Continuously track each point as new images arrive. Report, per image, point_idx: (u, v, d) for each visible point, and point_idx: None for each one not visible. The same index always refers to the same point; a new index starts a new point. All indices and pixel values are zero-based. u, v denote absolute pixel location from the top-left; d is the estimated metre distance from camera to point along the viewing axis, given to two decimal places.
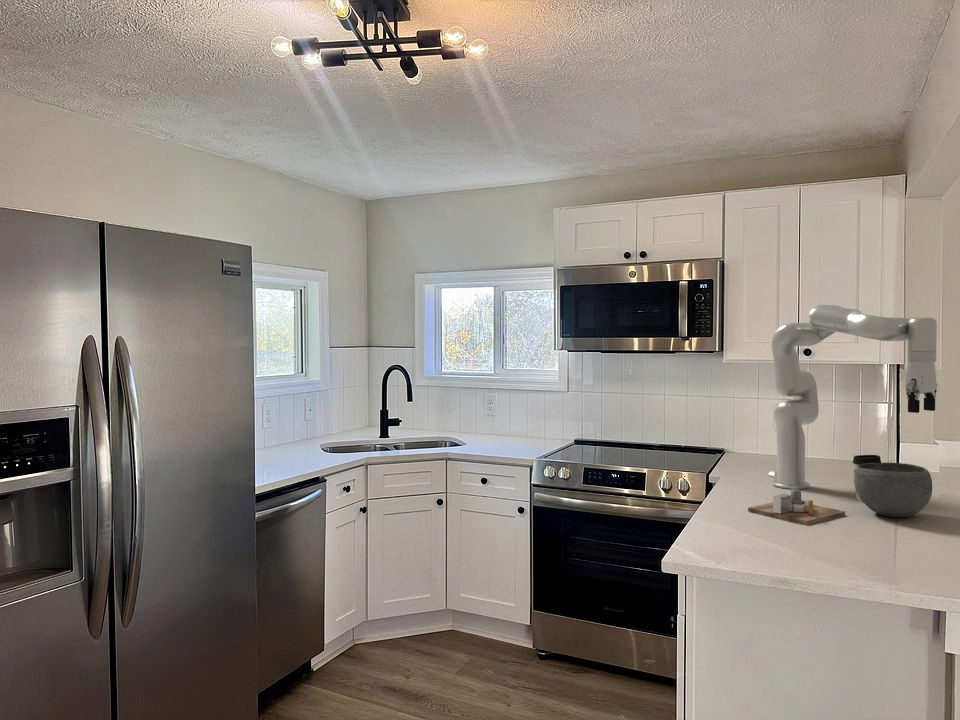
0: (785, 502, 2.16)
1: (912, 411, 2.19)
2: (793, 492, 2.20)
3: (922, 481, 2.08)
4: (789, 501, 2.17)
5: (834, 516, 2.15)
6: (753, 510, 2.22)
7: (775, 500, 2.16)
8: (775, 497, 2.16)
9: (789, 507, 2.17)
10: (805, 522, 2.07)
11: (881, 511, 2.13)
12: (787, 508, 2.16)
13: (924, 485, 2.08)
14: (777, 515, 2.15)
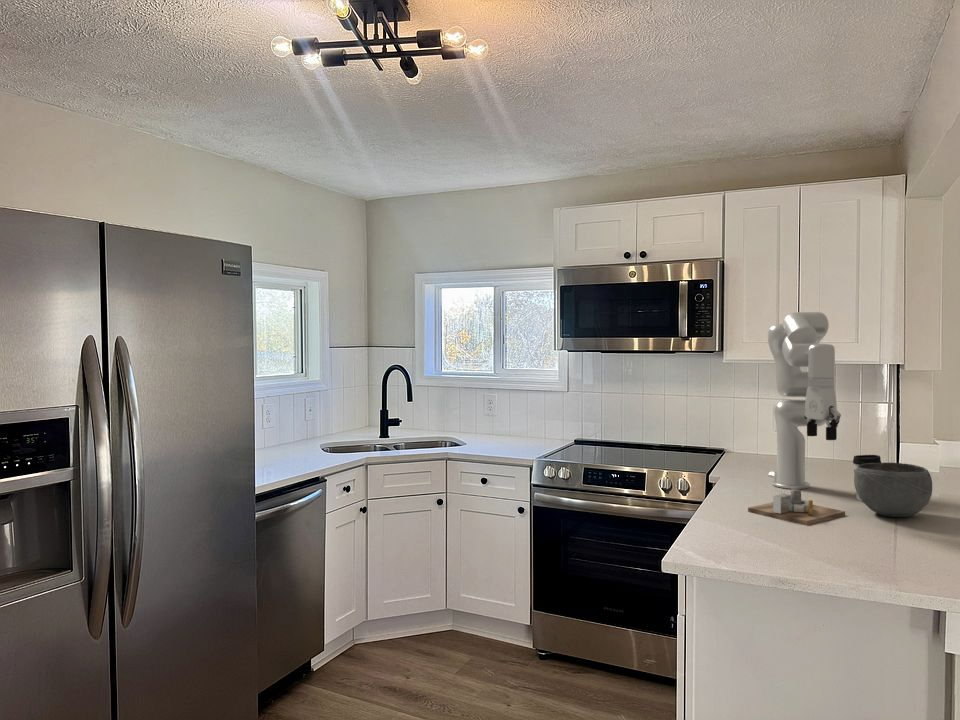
0: (785, 502, 2.16)
1: (831, 439, 2.17)
2: (793, 492, 2.20)
3: (922, 481, 2.08)
4: (789, 501, 2.17)
5: (834, 516, 2.15)
6: (753, 510, 2.22)
7: (775, 500, 2.16)
8: (775, 497, 2.16)
9: (789, 507, 2.17)
10: (805, 522, 2.07)
11: (881, 511, 2.13)
12: (787, 508, 2.16)
13: (924, 485, 2.08)
14: (777, 515, 2.15)
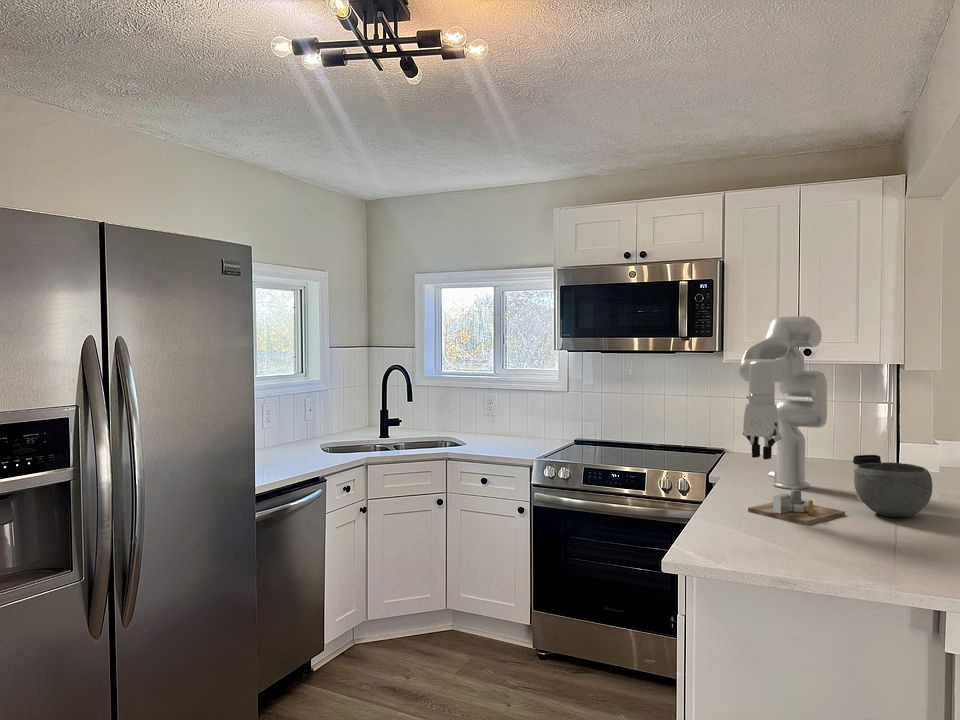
0: (785, 502, 2.16)
1: (767, 458, 2.20)
2: (793, 492, 2.20)
3: (922, 480, 2.08)
4: (789, 501, 2.17)
5: (834, 516, 2.15)
6: (753, 510, 2.22)
7: (775, 500, 2.16)
8: (775, 497, 2.16)
9: (789, 507, 2.17)
10: (805, 522, 2.07)
11: (881, 511, 2.13)
12: (787, 508, 2.16)
13: (924, 485, 2.08)
14: (777, 515, 2.15)
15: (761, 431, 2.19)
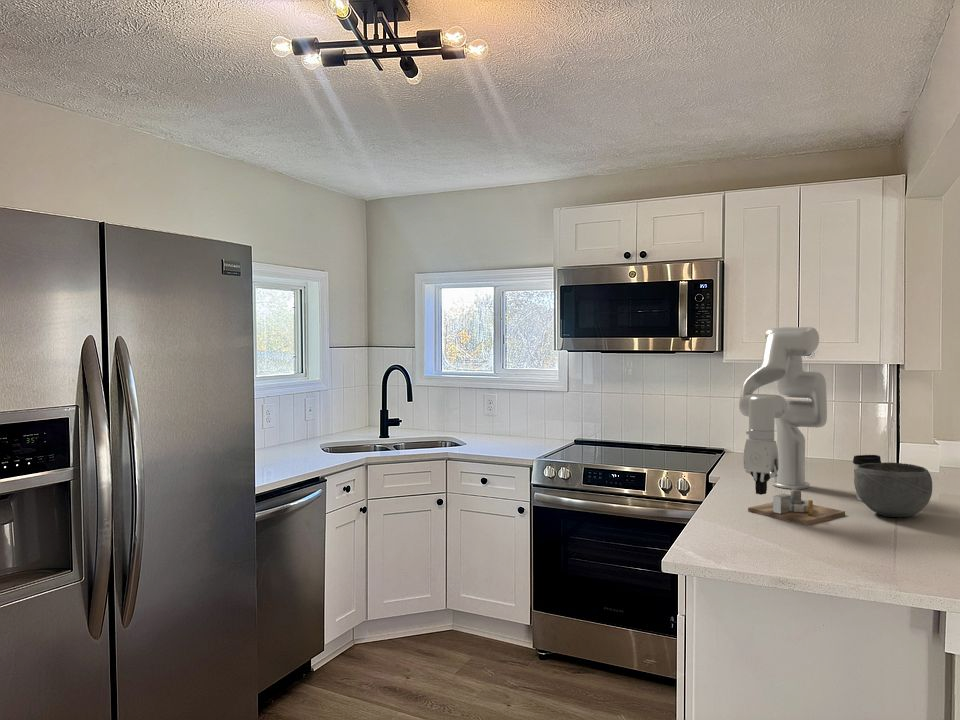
0: (785, 502, 2.16)
1: (762, 493, 2.22)
2: (793, 492, 2.20)
3: (922, 481, 2.08)
4: (789, 501, 2.17)
5: (834, 516, 2.15)
6: (753, 510, 2.22)
7: (775, 500, 2.16)
8: (775, 497, 2.16)
9: (789, 507, 2.17)
10: (805, 522, 2.07)
11: (881, 511, 2.13)
12: (787, 508, 2.16)
13: (924, 485, 2.08)
14: (777, 515, 2.15)
15: (761, 467, 2.19)
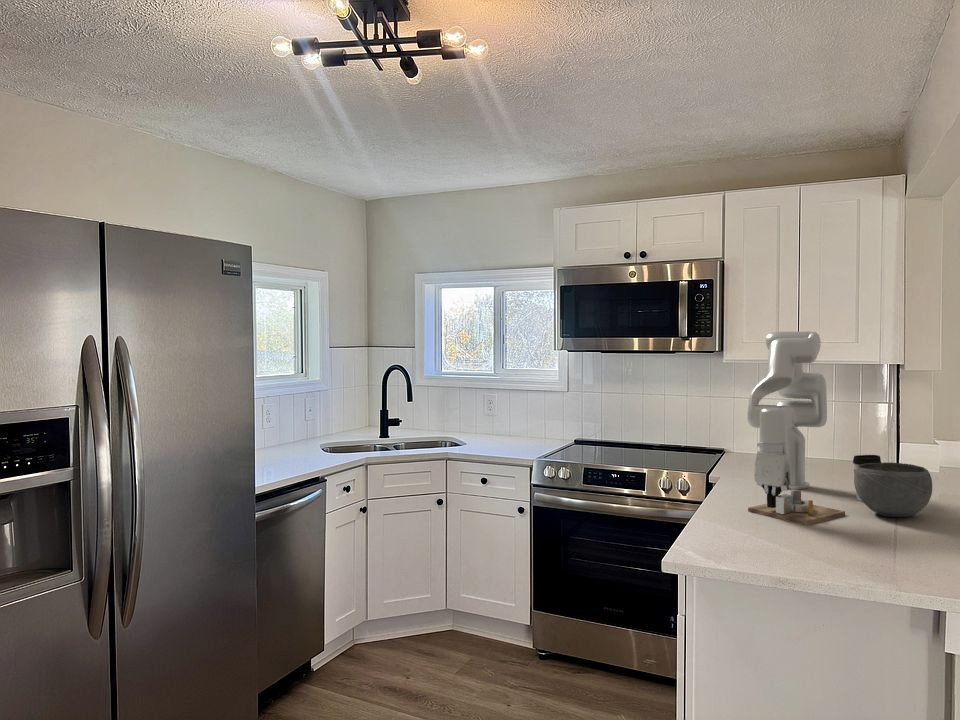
0: (787, 502, 2.15)
1: (774, 506, 2.19)
2: (793, 492, 2.20)
3: (922, 480, 2.08)
4: (791, 502, 2.16)
5: (834, 516, 2.15)
6: (753, 510, 2.22)
7: (778, 501, 2.15)
8: (778, 498, 2.15)
9: (791, 507, 2.16)
10: (805, 522, 2.07)
11: (881, 511, 2.13)
12: (789, 508, 2.16)
13: (924, 485, 2.08)
14: (777, 515, 2.15)
15: (772, 480, 2.16)
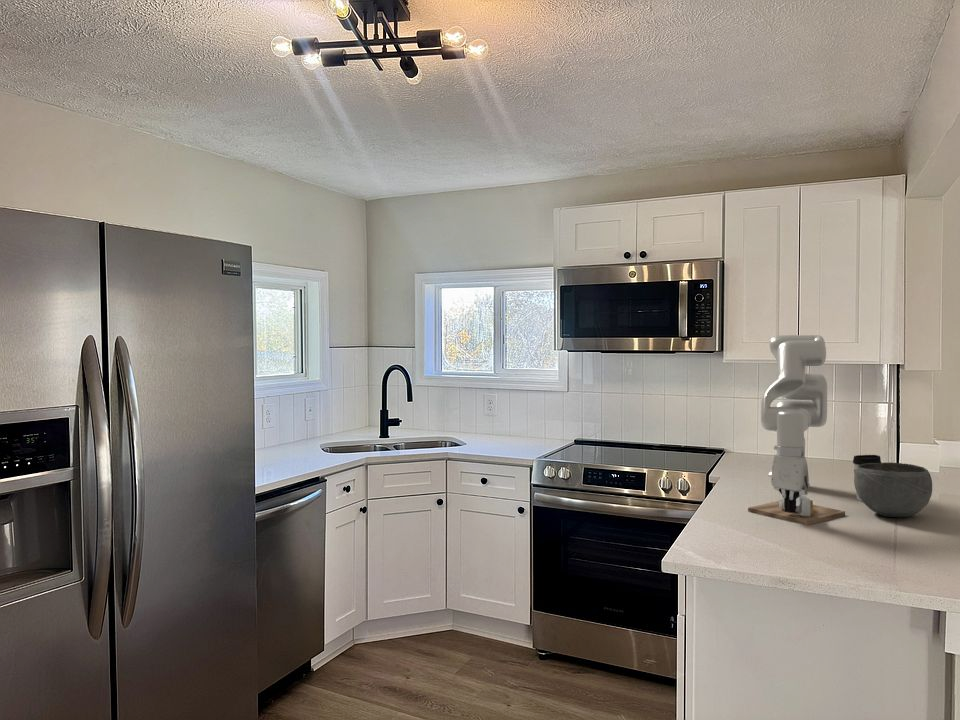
0: None
1: (791, 511, 2.14)
2: None
3: (922, 480, 2.08)
4: None
5: (834, 516, 2.15)
6: (753, 510, 2.22)
7: (804, 503, 2.11)
8: (804, 500, 2.11)
9: None
10: (805, 522, 2.07)
11: (881, 511, 2.13)
12: None
13: (924, 485, 2.08)
14: (777, 515, 2.15)
15: (790, 485, 2.11)
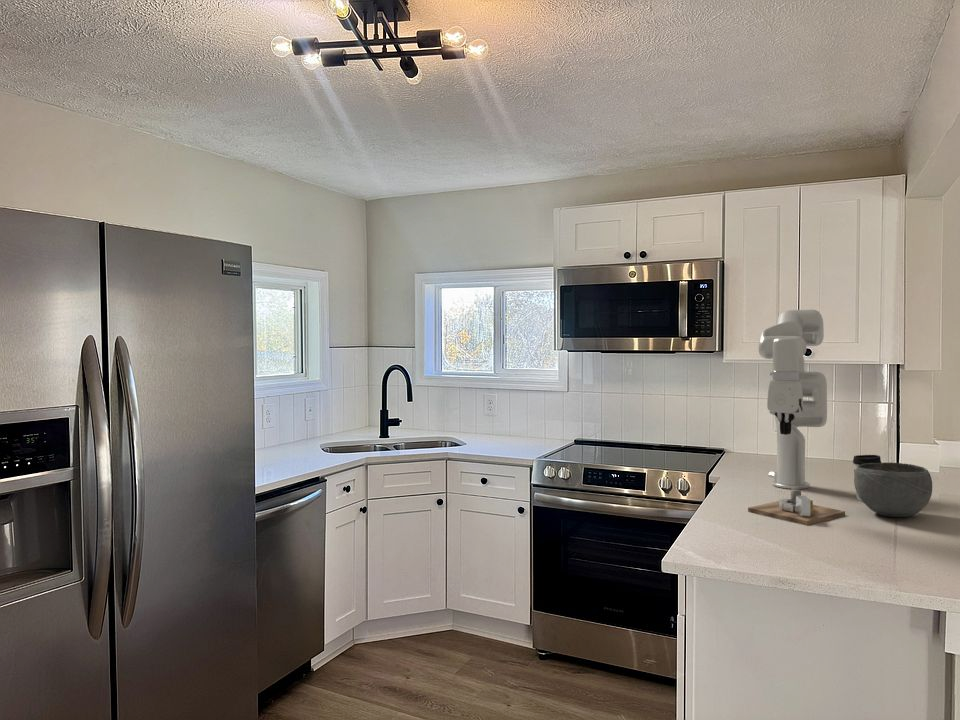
0: None
1: (787, 433, 2.24)
2: (793, 492, 2.20)
3: (922, 481, 2.08)
4: None
5: (834, 516, 2.15)
6: (753, 510, 2.22)
7: (804, 503, 2.11)
8: (804, 500, 2.11)
9: None
10: (805, 522, 2.07)
11: (881, 511, 2.13)
12: None
13: (924, 485, 2.08)
14: (777, 515, 2.15)
15: (785, 407, 2.21)
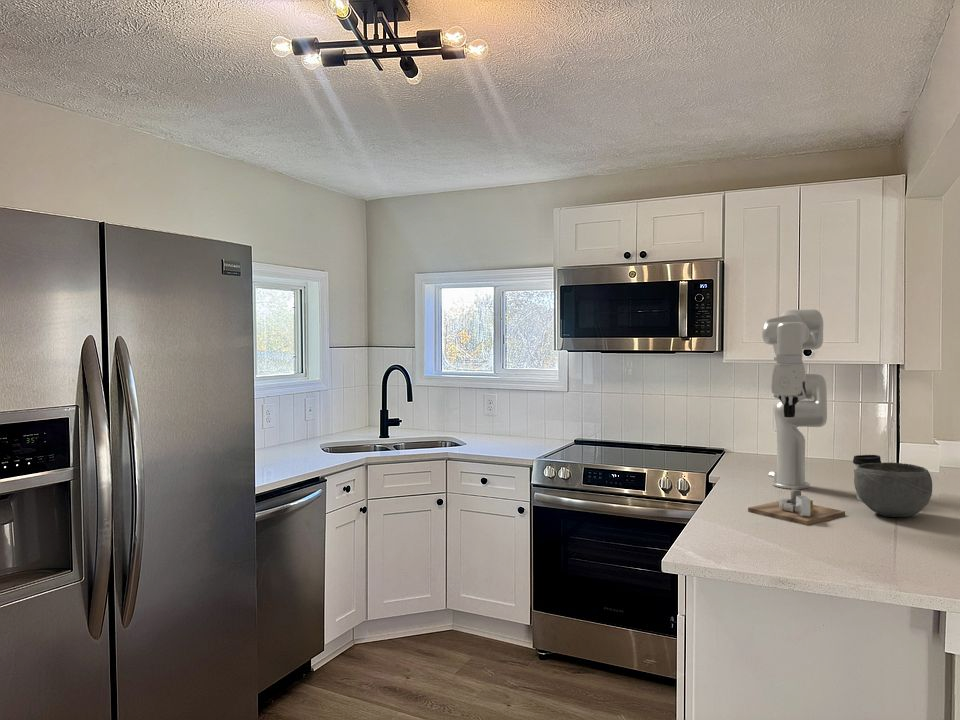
0: None
1: (791, 416, 2.29)
2: (793, 492, 2.20)
3: (922, 480, 2.08)
4: None
5: (834, 516, 2.15)
6: (753, 510, 2.22)
7: (804, 503, 2.11)
8: (804, 500, 2.11)
9: None
10: (805, 522, 2.07)
11: (881, 511, 2.13)
12: None
13: (924, 485, 2.08)
14: (777, 515, 2.15)
15: (789, 390, 2.26)
